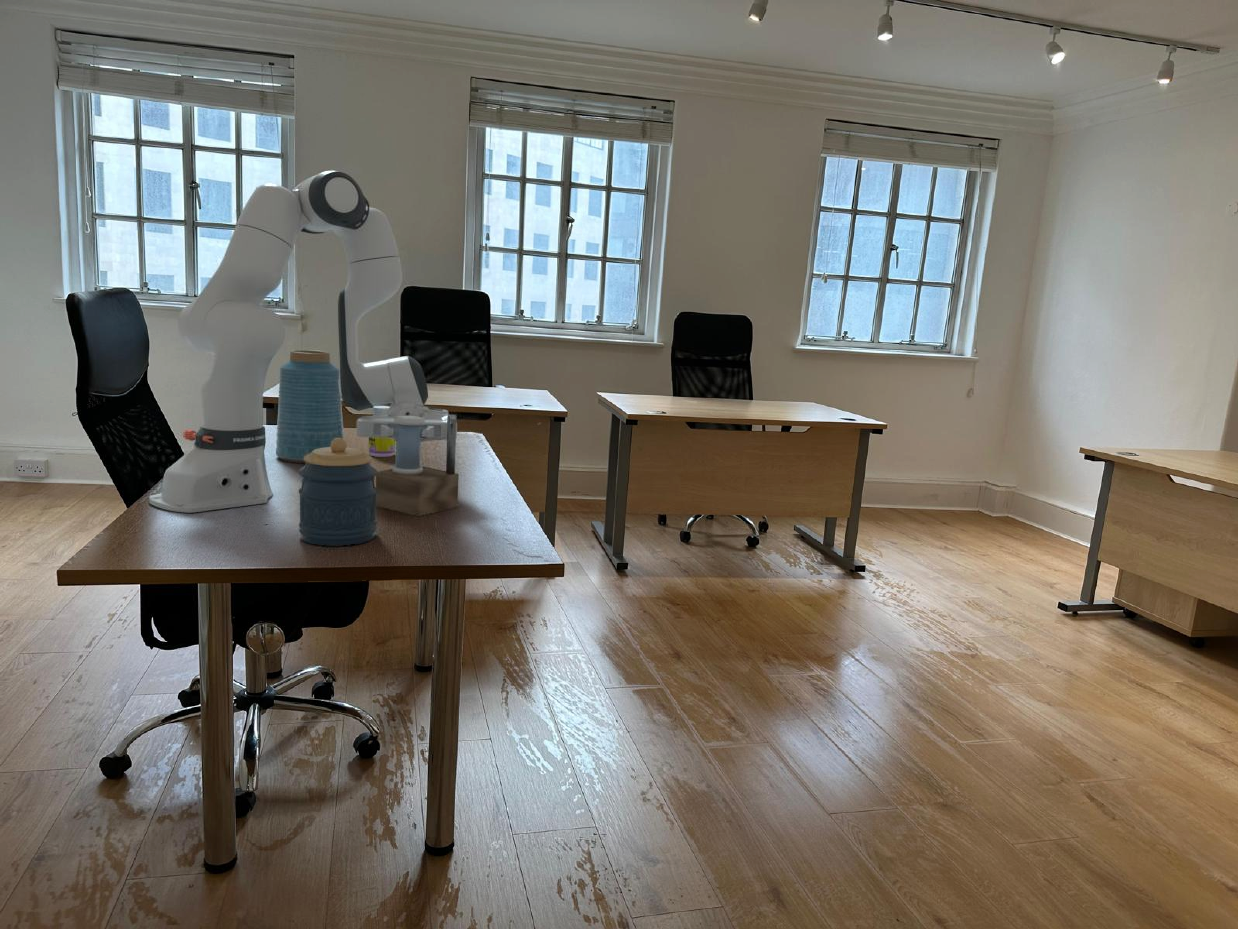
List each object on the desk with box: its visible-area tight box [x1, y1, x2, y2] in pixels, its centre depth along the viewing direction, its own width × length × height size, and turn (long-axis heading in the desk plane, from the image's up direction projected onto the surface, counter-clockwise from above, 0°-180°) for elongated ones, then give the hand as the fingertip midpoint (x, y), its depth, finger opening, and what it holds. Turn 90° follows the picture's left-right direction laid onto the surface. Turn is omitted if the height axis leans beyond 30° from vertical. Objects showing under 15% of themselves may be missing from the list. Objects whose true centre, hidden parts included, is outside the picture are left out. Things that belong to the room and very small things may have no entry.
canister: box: [297, 438, 378, 547], centre depth 147 cm, size 13×13×18 cm
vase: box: [275, 349, 345, 464], centre depth 210 cm, size 16×16×27 cm
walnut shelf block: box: [375, 465, 460, 517], centre depth 172 cm, size 11×12×7 cm
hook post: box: [445, 414, 457, 475], centre depth 169 cm, size 2×6×12 cm, turn 14°
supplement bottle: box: [368, 405, 396, 458], centre depth 221 cm, size 7×7×13 cm
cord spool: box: [391, 416, 425, 475], centre depth 170 cm, size 6×6×11 cm
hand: (407, 433), depth 169 cm, fingers open, 5 cm apart
